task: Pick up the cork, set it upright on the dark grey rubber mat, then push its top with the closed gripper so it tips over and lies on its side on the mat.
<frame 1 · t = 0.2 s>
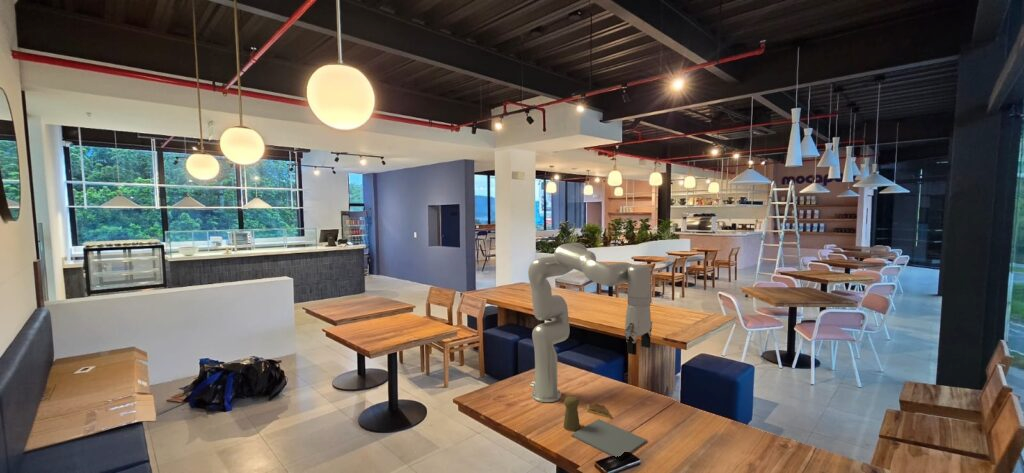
hand: (638, 350, 146), 31 cm above the table, tool pointing down, fingers open, 9 cm apart
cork: (571, 427, 155), on the table
slate mat: (608, 438, 146), on the table
shard: (601, 412, 167), on the table
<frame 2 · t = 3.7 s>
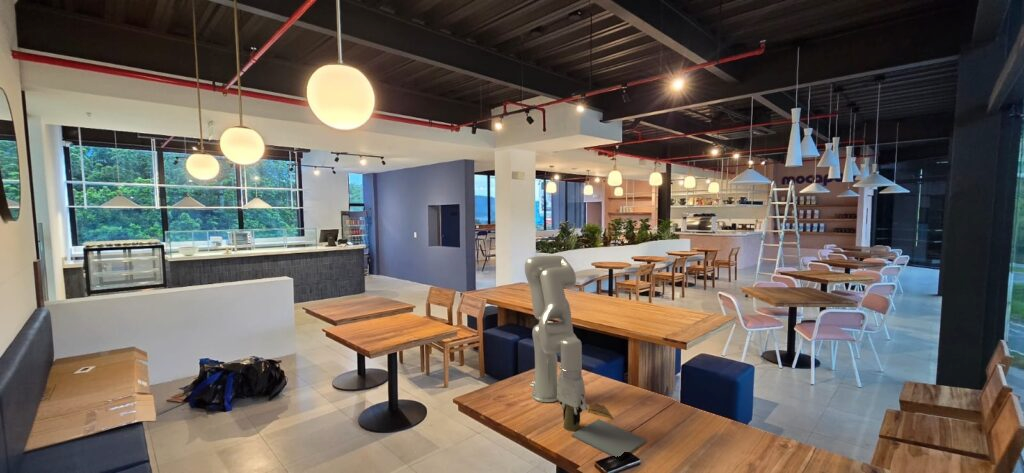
hand: (571, 420, 155), 2 cm above the table, tool pointing down, fingers closed on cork, 3 cm apart
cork: (571, 427, 155), on the table, touching gripper
everything else where it was.
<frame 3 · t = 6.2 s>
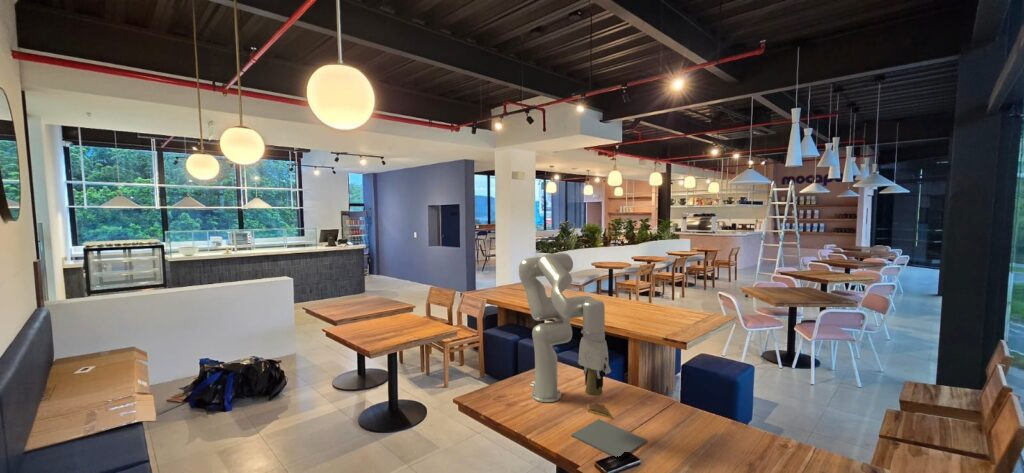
hand: (594, 385, 150), 17 cm above the table, tool pointing down, fingers closed on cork, 3 cm apart
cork: (593, 392, 150), point 14 cm above the table, touching gripper
everything else where it was.
when the fingers open (4 cm above the table, at t = 8.8 s): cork drops 1 cm, resting on slate mat.
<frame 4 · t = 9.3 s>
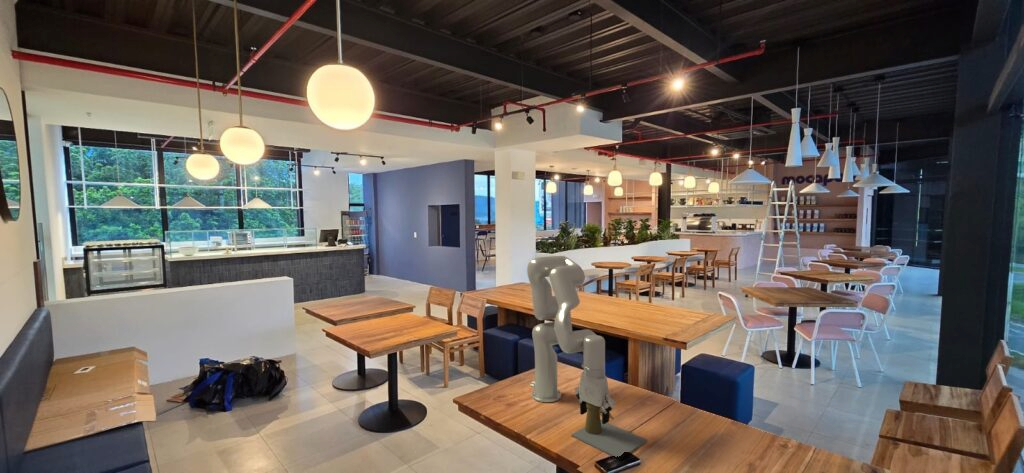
hand: (594, 417, 151), 5 cm above the table, tool pointing down, fingers open, 9 cm apart
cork: (593, 430, 151), resting on slate mat
everything else where it was.
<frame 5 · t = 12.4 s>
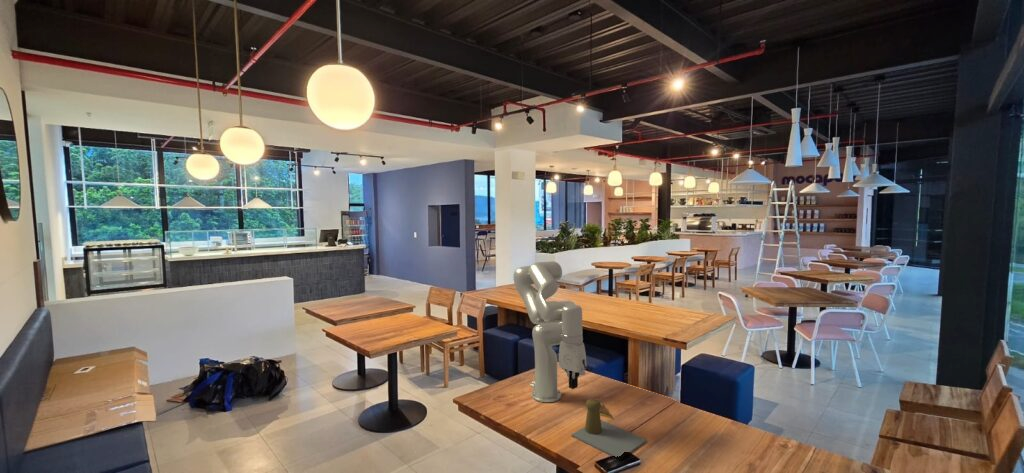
hand: (573, 387, 157), 14 cm above the table, tool pointing down, fingers closed
nothing on the table moved.
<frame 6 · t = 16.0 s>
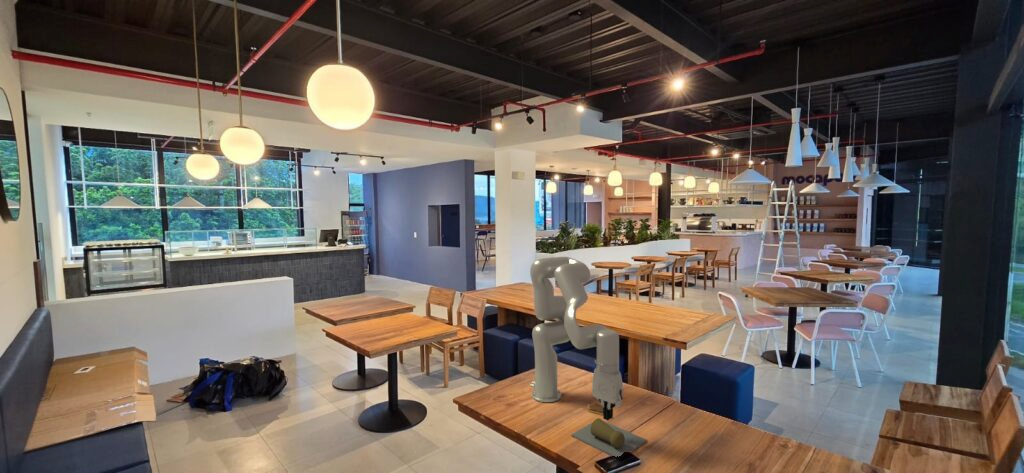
hand: (608, 418, 146), 7 cm above the table, tool pointing down, fingers closed
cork: (596, 426, 148), point 4 cm above the table, touching slate mat
everything else where it was.
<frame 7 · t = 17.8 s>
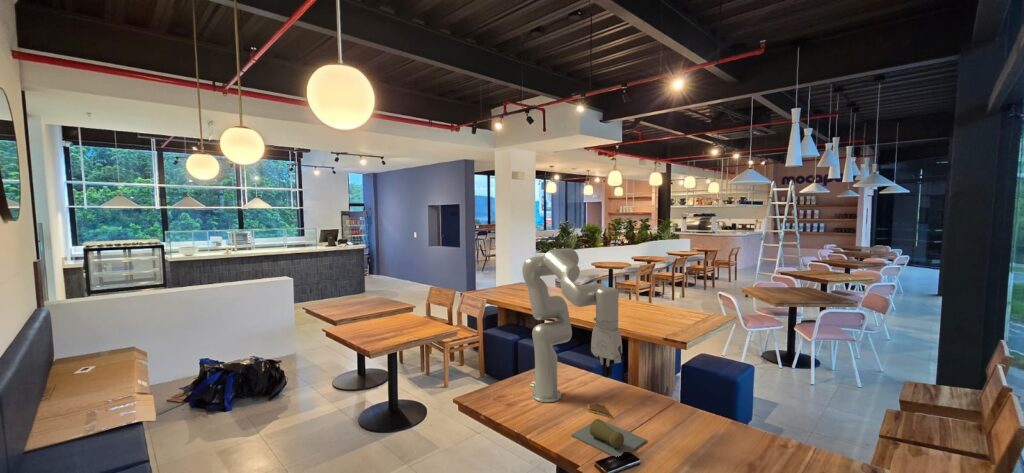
hand: (606, 375, 146), 22 cm above the table, tool pointing down, fingers closed
nothing on the table moved.
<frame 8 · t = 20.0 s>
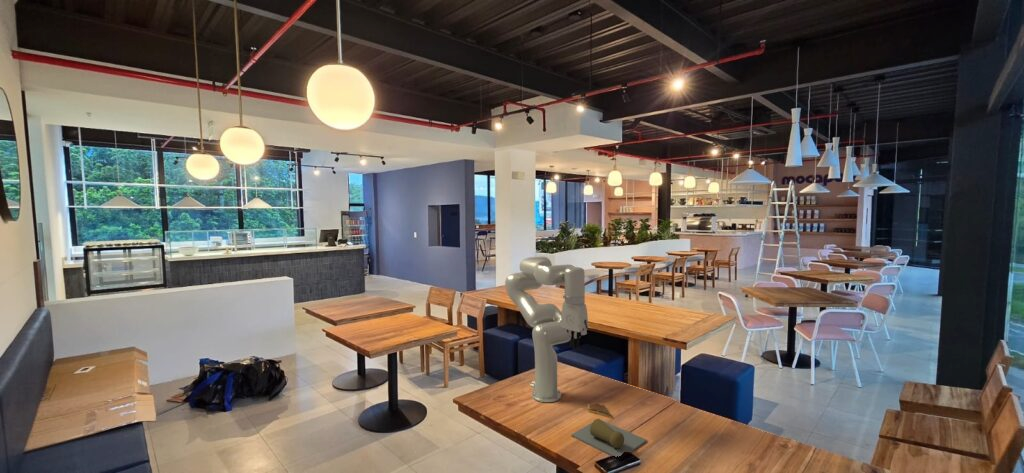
hand: (574, 347, 161), 27 cm above the table, tool pointing down, fingers closed
nothing on the table moved.
at the end: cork tilted 93°; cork inside the target area (4.4 cm from its centre), point 3.6 cm above the table; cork touching slate mat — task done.
